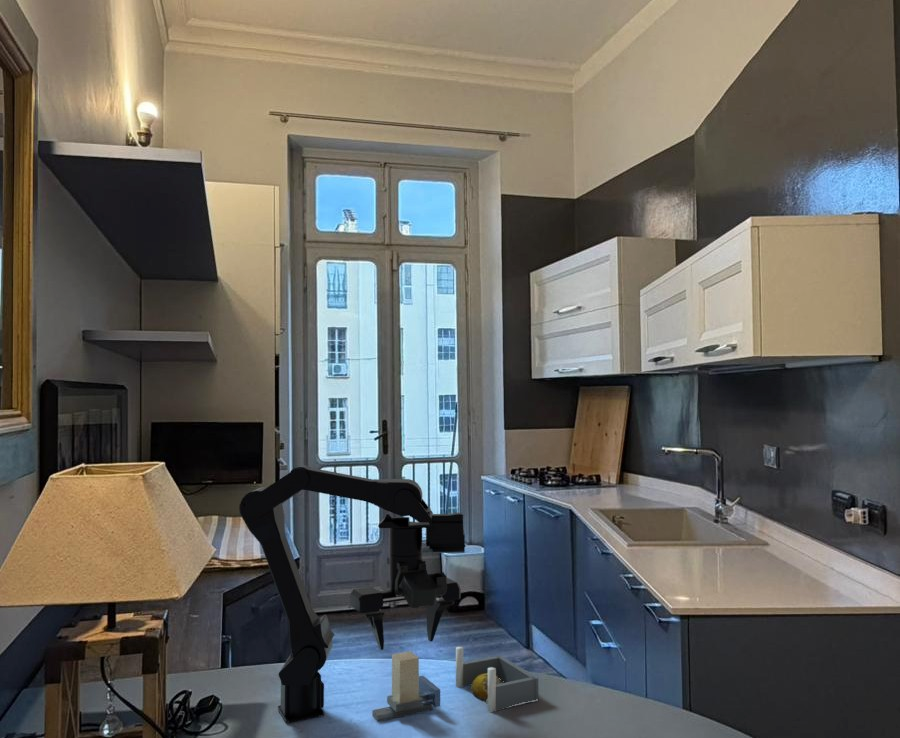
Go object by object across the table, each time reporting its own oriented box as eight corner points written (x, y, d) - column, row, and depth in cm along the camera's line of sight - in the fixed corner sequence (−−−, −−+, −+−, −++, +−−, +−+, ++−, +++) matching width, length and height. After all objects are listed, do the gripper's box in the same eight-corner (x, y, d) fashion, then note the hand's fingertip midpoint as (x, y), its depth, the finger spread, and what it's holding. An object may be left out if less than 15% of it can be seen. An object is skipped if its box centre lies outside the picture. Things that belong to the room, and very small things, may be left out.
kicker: (399, 715, 116) (399, 664, 116) (384, 699, 122) (384, 651, 123) (440, 706, 119) (440, 657, 120) (423, 692, 126) (423, 645, 126)
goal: (490, 712, 120) (490, 670, 120) (454, 685, 132) (454, 647, 132) (539, 701, 125) (538, 661, 125) (500, 676, 136) (500, 639, 137)
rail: (377, 721, 117) (377, 715, 117) (372, 716, 119) (372, 710, 119) (431, 710, 121) (431, 704, 121) (426, 704, 123) (426, 699, 123)
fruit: (497, 711, 121) (497, 689, 122) (460, 698, 127) (460, 677, 127) (524, 696, 128) (524, 675, 128) (488, 684, 133) (488, 664, 133)
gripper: (371, 568, 110) (371, 669, 109) (475, 556, 119) (476, 650, 118) (348, 555, 120) (348, 648, 119) (446, 545, 129) (446, 631, 128)
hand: (406, 645), depth 121 cm, fingers open, 9 cm apart
